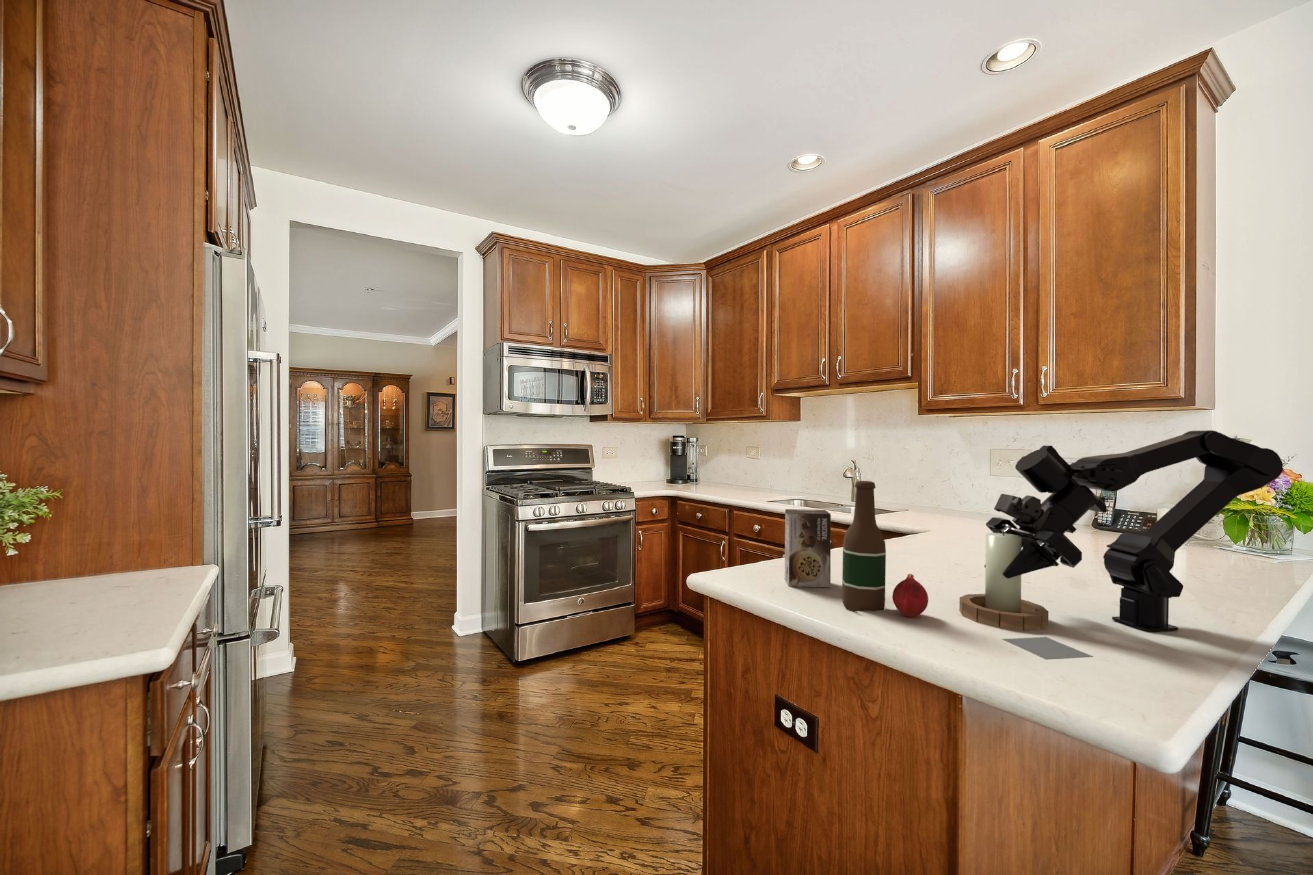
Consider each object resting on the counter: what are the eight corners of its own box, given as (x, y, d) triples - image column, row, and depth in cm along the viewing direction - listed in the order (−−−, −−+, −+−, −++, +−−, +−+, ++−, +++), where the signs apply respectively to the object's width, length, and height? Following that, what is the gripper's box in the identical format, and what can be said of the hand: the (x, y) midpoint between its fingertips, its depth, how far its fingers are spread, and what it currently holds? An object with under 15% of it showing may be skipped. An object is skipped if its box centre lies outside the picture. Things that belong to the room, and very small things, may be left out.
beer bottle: (888, 606, 105) (890, 481, 105) (880, 617, 99) (883, 483, 99) (846, 599, 109) (848, 479, 110) (836, 609, 103) (838, 481, 103)
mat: (1045, 640, 88) (1045, 636, 88) (1093, 660, 80) (1093, 656, 80) (1002, 642, 87) (1002, 639, 87) (1045, 663, 79) (1045, 659, 79)
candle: (1015, 606, 99) (1016, 529, 99) (1025, 614, 94) (1025, 534, 94) (982, 602, 101) (982, 527, 101) (989, 611, 96) (989, 532, 96)
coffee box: (824, 580, 124) (825, 509, 124) (831, 588, 118) (832, 513, 118) (783, 579, 125) (784, 508, 125) (787, 586, 118) (789, 511, 119)
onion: (932, 625, 95) (932, 579, 95) (896, 622, 96) (897, 577, 96) (922, 615, 100) (923, 571, 100) (889, 612, 101) (889, 569, 101)
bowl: (1005, 608, 105) (1005, 593, 105) (1066, 632, 92) (1066, 614, 92) (944, 611, 103) (944, 595, 103) (998, 635, 90) (998, 617, 90)
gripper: (996, 475, 107) (938, 531, 107) (1063, 483, 88) (992, 550, 89) (1037, 516, 107) (979, 572, 107) (1113, 533, 88) (1042, 600, 88)
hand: (995, 572), depth 98 cm, fingers closed on candle, 5 cm apart
